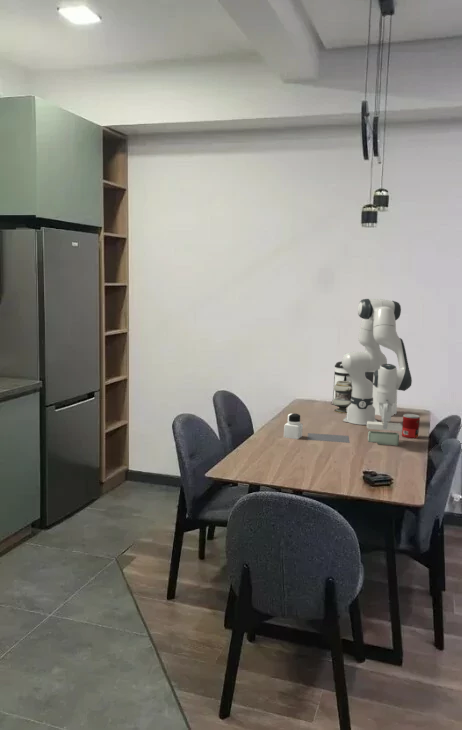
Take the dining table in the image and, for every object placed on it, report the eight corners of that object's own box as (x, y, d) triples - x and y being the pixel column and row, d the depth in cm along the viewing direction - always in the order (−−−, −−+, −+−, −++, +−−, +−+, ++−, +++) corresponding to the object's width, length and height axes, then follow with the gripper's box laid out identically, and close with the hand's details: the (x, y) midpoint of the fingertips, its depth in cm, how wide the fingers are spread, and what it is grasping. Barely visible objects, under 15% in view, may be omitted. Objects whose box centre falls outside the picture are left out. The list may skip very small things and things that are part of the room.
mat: (307, 434, 317) (307, 433, 317) (348, 437, 314) (348, 435, 314) (307, 441, 303) (307, 439, 303) (349, 444, 301) (349, 442, 300)
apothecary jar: (332, 408, 386) (333, 379, 384) (352, 410, 384) (354, 380, 382) (332, 412, 374) (334, 382, 372) (353, 414, 373) (355, 383, 370)
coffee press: (330, 406, 393) (333, 358, 389) (330, 402, 409) (333, 355, 405) (359, 408, 390) (362, 360, 387) (358, 403, 406) (361, 357, 402)
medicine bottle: (302, 437, 310) (303, 413, 308) (297, 440, 304) (298, 416, 302) (288, 435, 313) (289, 411, 311) (283, 438, 306) (284, 414, 305)
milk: (378, 411, 385) (381, 368, 382) (396, 413, 379) (399, 370, 375) (370, 413, 376) (373, 370, 372) (388, 416, 369) (391, 372, 366)
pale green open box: (367, 440, 309) (368, 430, 308) (397, 443, 307) (397, 432, 306) (368, 443, 304) (369, 433, 303) (398, 445, 302) (399, 435, 301)
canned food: (418, 439, 316) (420, 417, 315) (402, 437, 318) (403, 416, 317) (417, 435, 324) (419, 414, 322) (401, 434, 325) (402, 413, 324)
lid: (366, 426, 308) (367, 418, 308) (400, 428, 306) (401, 420, 306) (367, 428, 302) (368, 421, 302) (402, 431, 300) (402, 423, 300)
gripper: (395, 402, 292) (393, 432, 294) (390, 395, 312) (388, 422, 314) (381, 401, 293) (379, 431, 294) (377, 394, 313) (375, 422, 315)
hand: (384, 426), depth 304 cm, fingers closed on lid, 6 cm apart
